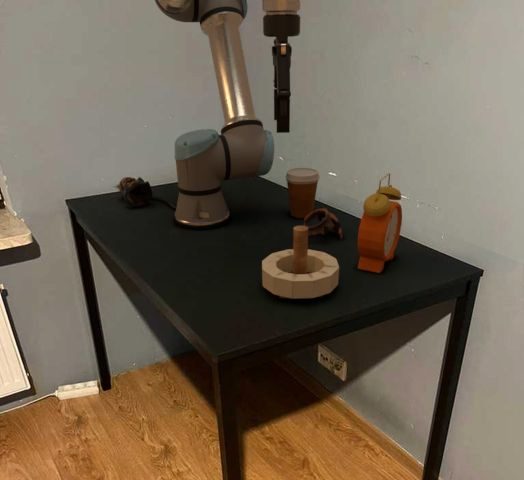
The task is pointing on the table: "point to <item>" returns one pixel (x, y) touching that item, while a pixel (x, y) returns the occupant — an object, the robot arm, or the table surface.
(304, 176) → the disposable coffee cup
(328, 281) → the ring
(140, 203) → the figurine
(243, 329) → the table surface
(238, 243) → the table surface
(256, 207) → the table surface
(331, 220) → the pottery mug
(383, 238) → the alarm clock
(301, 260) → the stand
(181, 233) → the table surface
